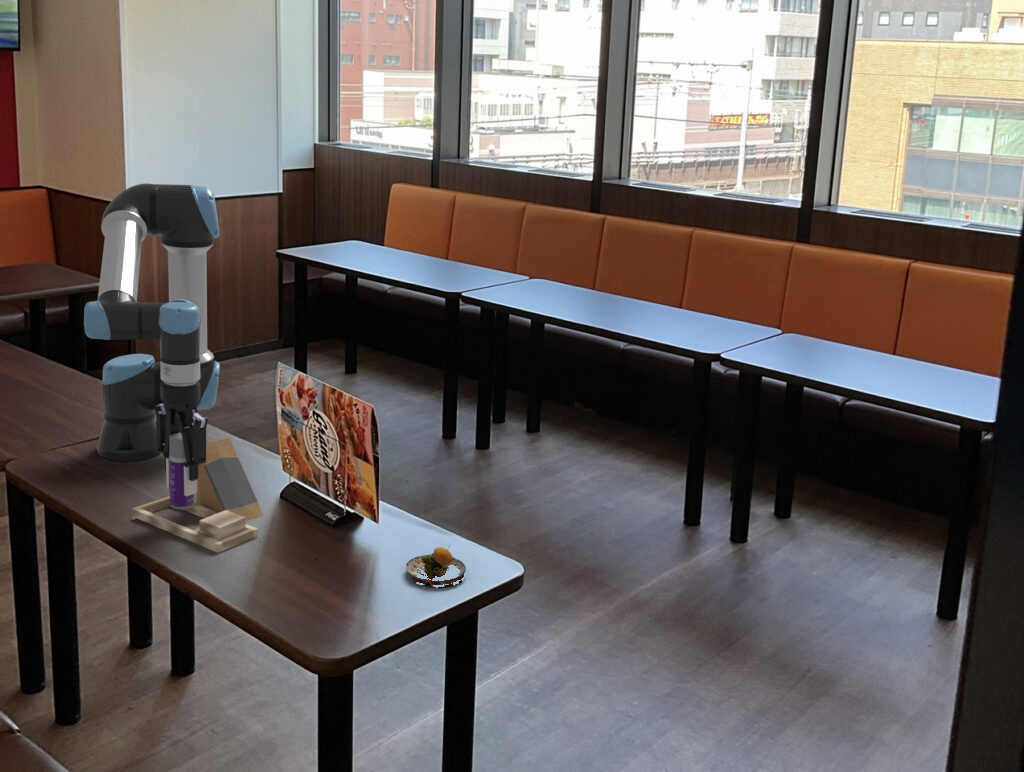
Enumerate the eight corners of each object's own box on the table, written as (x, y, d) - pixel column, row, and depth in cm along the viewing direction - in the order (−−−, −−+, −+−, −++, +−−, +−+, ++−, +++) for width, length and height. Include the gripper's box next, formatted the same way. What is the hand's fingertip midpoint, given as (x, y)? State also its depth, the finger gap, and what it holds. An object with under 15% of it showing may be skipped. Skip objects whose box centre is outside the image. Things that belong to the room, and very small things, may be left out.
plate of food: (434, 556, 218) (436, 522, 216) (478, 576, 211) (481, 541, 209) (391, 574, 209) (393, 539, 207) (436, 595, 202) (438, 559, 200)
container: (165, 506, 220) (163, 437, 215) (179, 498, 224) (178, 430, 220) (184, 511, 218) (183, 441, 214) (198, 503, 222) (198, 434, 218)
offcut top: (199, 529, 213) (199, 520, 213) (225, 519, 219) (225, 510, 219) (219, 537, 211) (219, 528, 210) (245, 526, 216) (245, 517, 216)
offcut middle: (199, 538, 214) (199, 529, 213) (226, 528, 220) (226, 519, 219) (218, 546, 211) (218, 537, 211) (245, 535, 217) (245, 526, 216)
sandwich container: (233, 533, 221) (233, 464, 217) (194, 509, 231) (194, 443, 227) (269, 523, 227) (270, 456, 223) (230, 500, 237) (230, 436, 233)
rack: (132, 521, 223) (131, 508, 222) (173, 507, 231) (172, 494, 230) (218, 558, 209) (217, 544, 208) (258, 542, 218) (258, 528, 217)
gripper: (135, 375, 215) (138, 483, 222) (195, 394, 206) (196, 507, 212) (166, 368, 221) (168, 474, 228) (225, 387, 212) (225, 497, 219)
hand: (181, 490), depth 220 cm, fingers closed on container, 5 cm apart
